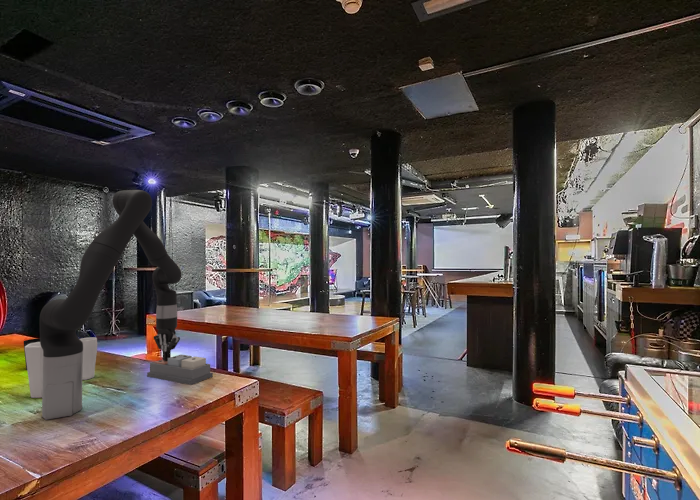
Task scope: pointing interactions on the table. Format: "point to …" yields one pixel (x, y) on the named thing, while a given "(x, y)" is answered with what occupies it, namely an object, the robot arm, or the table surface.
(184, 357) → the slate tile
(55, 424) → the table surface
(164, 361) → the coral tile
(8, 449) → the table surface
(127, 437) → the table surface
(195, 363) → the ivory tile
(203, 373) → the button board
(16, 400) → the table surface
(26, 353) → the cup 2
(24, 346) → the cup
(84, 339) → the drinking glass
